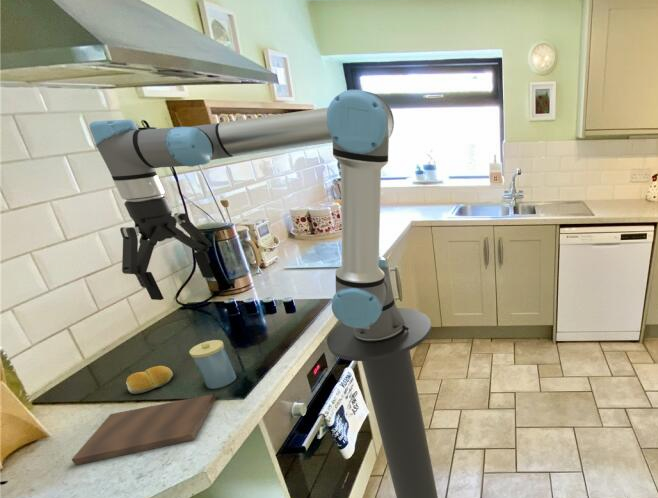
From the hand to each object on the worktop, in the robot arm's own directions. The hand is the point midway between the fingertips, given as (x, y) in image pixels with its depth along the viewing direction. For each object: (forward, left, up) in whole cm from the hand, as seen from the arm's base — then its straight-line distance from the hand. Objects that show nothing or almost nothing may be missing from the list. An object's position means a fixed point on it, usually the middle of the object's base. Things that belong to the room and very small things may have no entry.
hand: (184, 287), depth 101 cm
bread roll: (+13, +5, -22) cm, 26 cm away
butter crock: (-4, +10, -22) cm, 24 cm away
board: (+5, +25, -22) cm, 34 cm away
